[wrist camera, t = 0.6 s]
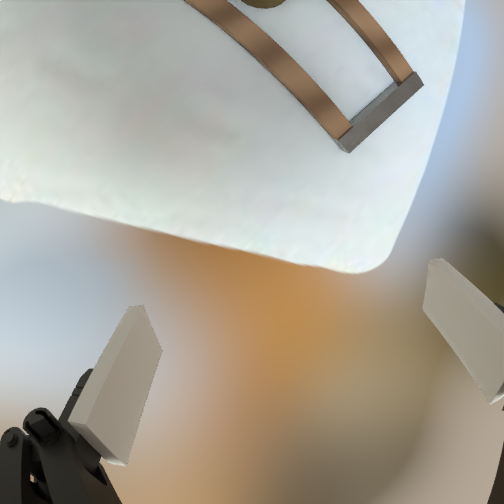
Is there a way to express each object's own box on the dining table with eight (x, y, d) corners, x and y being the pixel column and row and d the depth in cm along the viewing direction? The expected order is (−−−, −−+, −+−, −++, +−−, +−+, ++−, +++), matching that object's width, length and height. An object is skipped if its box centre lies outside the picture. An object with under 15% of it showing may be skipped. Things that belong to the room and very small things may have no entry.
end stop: (331, 137, 31) (338, 140, 29) (406, 71, 27) (415, 71, 25) (342, 150, 32) (349, 153, 30) (414, 84, 28) (424, 84, 26)
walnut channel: (171, -8, 20) (169, -13, 19) (264, -71, 16) (266, -77, 15) (331, 137, 31) (336, 139, 30) (406, 71, 27) (413, 71, 26)
